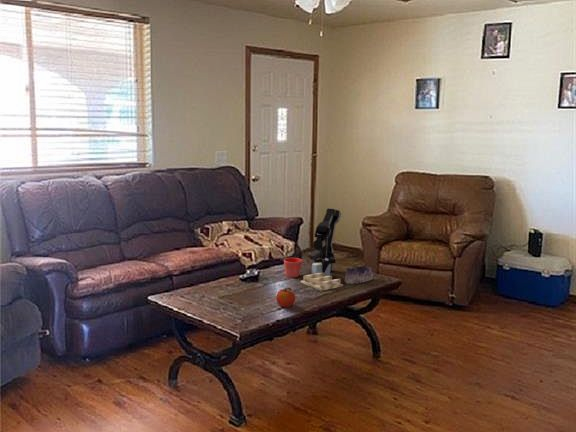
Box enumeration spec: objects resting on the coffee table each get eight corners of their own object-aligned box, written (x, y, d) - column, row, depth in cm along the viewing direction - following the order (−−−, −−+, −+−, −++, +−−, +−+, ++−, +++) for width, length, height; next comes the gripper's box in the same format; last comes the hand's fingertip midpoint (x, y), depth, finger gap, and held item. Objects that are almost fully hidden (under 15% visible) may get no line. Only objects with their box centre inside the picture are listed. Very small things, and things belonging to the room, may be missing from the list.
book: (325, 274, 356) (326, 261, 354) (330, 275, 353) (330, 262, 351) (311, 276, 349) (312, 263, 348) (315, 278, 346) (316, 265, 345)
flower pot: (280, 277, 346) (281, 260, 344) (286, 272, 357) (286, 256, 355) (298, 279, 343) (298, 263, 341) (303, 274, 354) (304, 258, 352)
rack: (322, 278, 347) (322, 271, 346) (342, 286, 333) (343, 279, 332) (300, 282, 337) (300, 275, 337) (321, 290, 323) (321, 283, 323)
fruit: (286, 301, 303) (286, 282, 301) (298, 306, 296) (299, 287, 294) (271, 305, 297) (272, 285, 295) (284, 310, 290) (285, 290, 288)
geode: (356, 287, 333) (355, 269, 332) (340, 285, 341) (339, 268, 339) (376, 279, 348) (375, 262, 347) (360, 277, 356) (359, 261, 354)
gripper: (301, 244, 350) (300, 270, 353) (322, 251, 335) (320, 277, 338) (316, 242, 357) (314, 267, 360) (336, 248, 342) (335, 275, 345)
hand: (320, 271), depth 350 cm, fingers closed on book, 4 cm apart
